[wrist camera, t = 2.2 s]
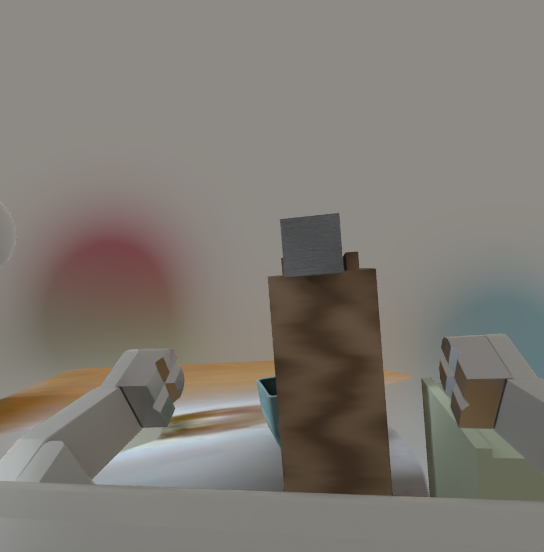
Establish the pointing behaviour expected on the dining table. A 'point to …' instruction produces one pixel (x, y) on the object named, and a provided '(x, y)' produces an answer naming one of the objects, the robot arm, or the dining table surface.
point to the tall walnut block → (330, 381)
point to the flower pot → (270, 404)
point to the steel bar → (312, 245)
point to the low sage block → (472, 457)
